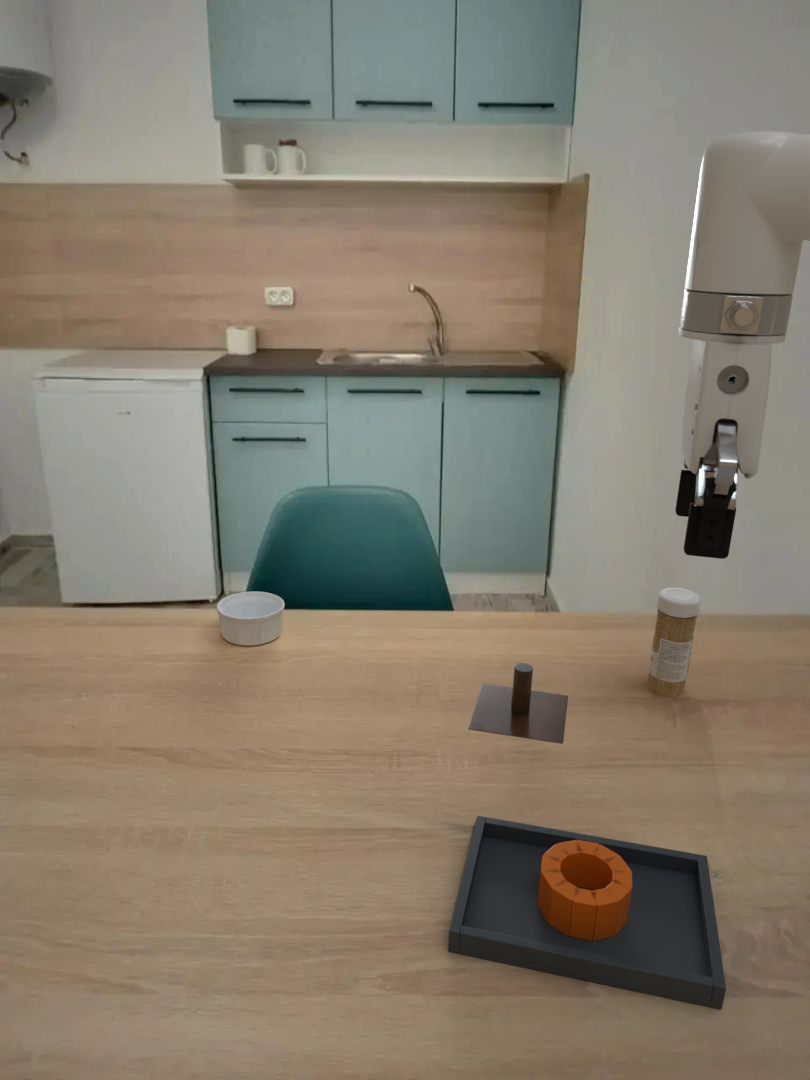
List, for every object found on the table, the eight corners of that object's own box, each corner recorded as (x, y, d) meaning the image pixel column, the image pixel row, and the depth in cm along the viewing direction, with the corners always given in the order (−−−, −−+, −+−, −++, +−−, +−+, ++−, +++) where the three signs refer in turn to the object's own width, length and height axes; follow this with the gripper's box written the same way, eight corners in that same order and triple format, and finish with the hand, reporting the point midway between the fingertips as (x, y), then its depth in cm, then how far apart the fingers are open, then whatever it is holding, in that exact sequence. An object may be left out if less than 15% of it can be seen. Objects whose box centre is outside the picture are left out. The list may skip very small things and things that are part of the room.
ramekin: (221, 619, 114) (219, 591, 113) (286, 618, 115) (285, 589, 114) (214, 650, 106) (212, 619, 105) (284, 648, 107) (283, 617, 106)
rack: (567, 706, 96) (572, 652, 93) (561, 755, 86) (568, 697, 84) (481, 694, 98) (484, 640, 95) (467, 741, 88) (470, 683, 86)
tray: (703, 874, 71) (706, 855, 70) (721, 1009, 58) (726, 988, 58) (476, 833, 75) (477, 815, 74) (447, 951, 62) (449, 931, 62)
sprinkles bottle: (648, 684, 101) (663, 583, 96) (687, 694, 99) (704, 591, 94) (640, 702, 97) (655, 597, 92) (680, 712, 95) (698, 605, 90)
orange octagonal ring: (626, 883, 69) (631, 848, 68) (627, 948, 62) (633, 912, 61) (541, 867, 70) (545, 833, 69) (534, 930, 64) (537, 894, 63)
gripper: (813, 332, 53) (765, 580, 59) (767, 311, 69) (734, 507, 74) (689, 326, 54) (656, 568, 60) (673, 307, 70) (647, 500, 76)
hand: (699, 534), depth 67 cm, fingers open, 9 cm apart
